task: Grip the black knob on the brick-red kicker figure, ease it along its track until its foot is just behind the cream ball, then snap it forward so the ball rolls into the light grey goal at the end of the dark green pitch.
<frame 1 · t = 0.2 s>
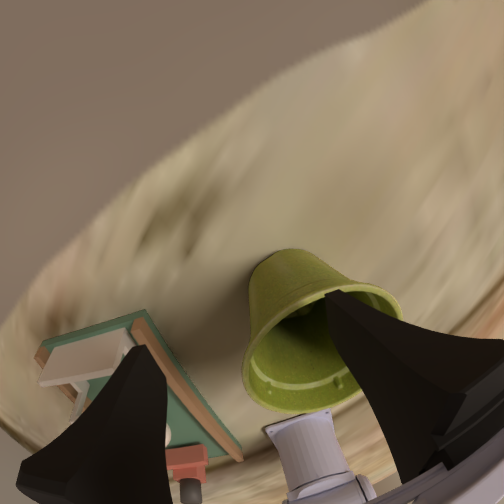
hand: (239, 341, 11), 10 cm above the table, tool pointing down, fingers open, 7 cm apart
plant pot: (287, 283, 22), on the table
kicker: (187, 476, 24), point 5 cm above the table, slide at 0.0 cm
pitch: (152, 409, 25), on the table
ball: (151, 432, 23), point 3 cm above the table, touching pitch
goal: (105, 353, 22), resting on pitch
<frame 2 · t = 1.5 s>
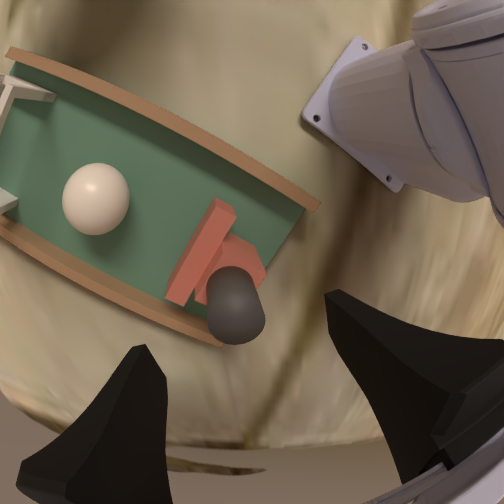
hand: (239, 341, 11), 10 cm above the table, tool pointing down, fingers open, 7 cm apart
kicker: (219, 278, 15), point 5 cm above the table, slide at 0.0 cm
pitch: (108, 187, 17), on the table
ball: (95, 198, 14), point 3 cm above the table, touching pitch
goal: (17, 138, 14), resting on pitch
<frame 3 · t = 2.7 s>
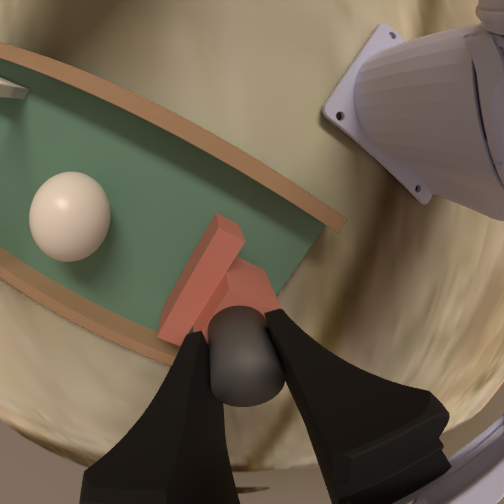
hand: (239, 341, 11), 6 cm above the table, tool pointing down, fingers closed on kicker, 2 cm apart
kicker: (223, 317, 11), point 5 cm above the table, slide at 0.0 cm, touching gripper
pitch: (88, 199, 13), on the table
ball: (69, 216, 11), point 3 cm above the table, touching pitch
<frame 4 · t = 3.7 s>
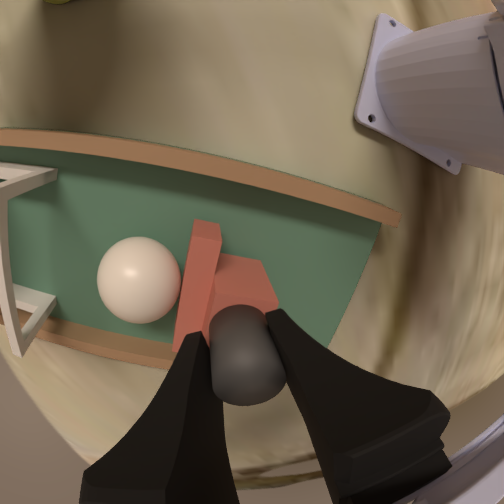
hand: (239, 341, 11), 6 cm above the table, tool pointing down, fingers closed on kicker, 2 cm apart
kicker: (223, 319, 12), point 5 cm above the table, slide at 4.9 cm, touching gripper
pitch: (159, 256, 15), on the table
ball: (138, 280, 12), point 3 cm above the table, tilted 18°, touching pitch
goal: (29, 229, 13), resting on pitch
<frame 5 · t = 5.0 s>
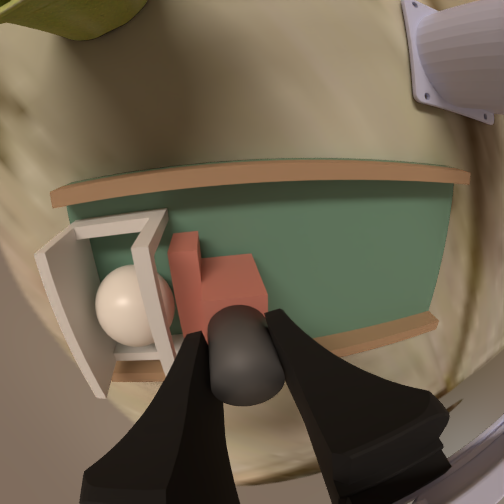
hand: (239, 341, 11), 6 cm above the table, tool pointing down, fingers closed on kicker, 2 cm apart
kicker: (221, 323, 12), point 5 cm above the table, slide at 12.3 cm, touching gripper
pitch: (287, 263, 17), on the table
ball: (134, 305, 13), point 3 cm above the table, tilted 122°, touching pitch
goal: (137, 278, 16), resting on pitch
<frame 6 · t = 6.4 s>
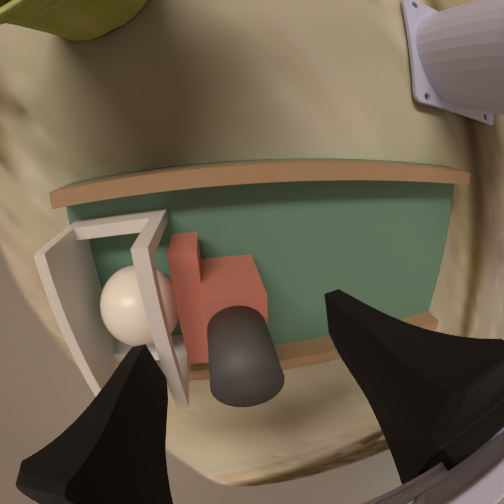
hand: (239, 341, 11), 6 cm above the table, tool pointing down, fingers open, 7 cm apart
kicker: (221, 324, 12), point 5 cm above the table, slide at 12.3 cm
pitch: (287, 263, 17), on the table
ball: (139, 306, 13), point 3 cm above the table, tilted 130°, touching pitch
goal: (137, 278, 16), resting on pitch
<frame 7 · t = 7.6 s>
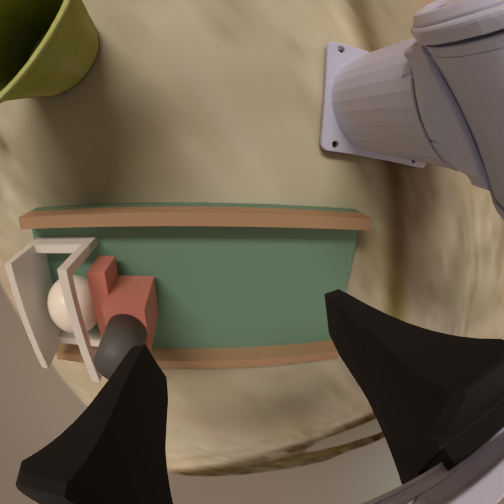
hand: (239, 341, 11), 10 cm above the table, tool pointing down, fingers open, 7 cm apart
plant pot: (63, 55, 13), on the table
kicker: (119, 325, 15), point 5 cm above the table, slide at 12.3 cm
pitch: (190, 285, 20), on the table
ball: (74, 304, 16), point 3 cm above the table, tilted 130°, touching pitch
goal: (80, 283, 19), resting on pitch
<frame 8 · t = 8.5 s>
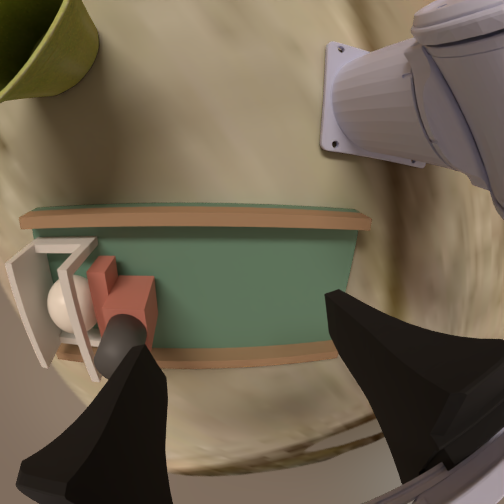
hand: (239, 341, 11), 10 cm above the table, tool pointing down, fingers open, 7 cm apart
plant pot: (63, 55, 13), on the table
kicker: (119, 325, 15), point 5 cm above the table, slide at 12.3 cm
pitch: (190, 285, 20), on the table
ball: (74, 304, 16), point 3 cm above the table, tilted 129°, touching pitch
goal: (80, 283, 19), resting on pitch
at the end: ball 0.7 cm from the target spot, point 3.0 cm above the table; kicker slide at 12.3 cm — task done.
